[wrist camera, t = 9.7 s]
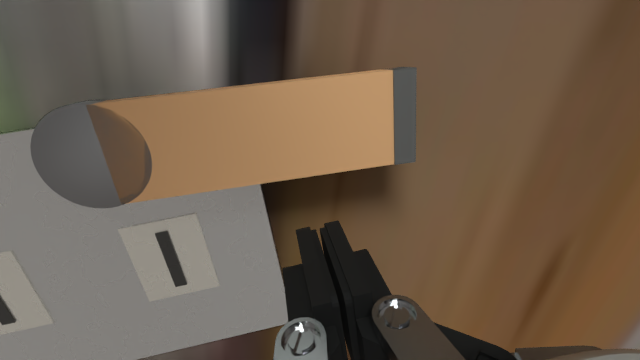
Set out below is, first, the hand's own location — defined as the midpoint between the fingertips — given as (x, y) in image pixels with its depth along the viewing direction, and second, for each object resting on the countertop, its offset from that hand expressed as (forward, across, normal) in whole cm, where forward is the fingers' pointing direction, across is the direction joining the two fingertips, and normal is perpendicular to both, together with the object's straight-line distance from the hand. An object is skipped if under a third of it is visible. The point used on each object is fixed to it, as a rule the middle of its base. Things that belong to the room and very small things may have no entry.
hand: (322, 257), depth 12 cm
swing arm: (+8, +3, -3) cm, 9 cm away
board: (+11, +14, +4) cm, 18 cm away
